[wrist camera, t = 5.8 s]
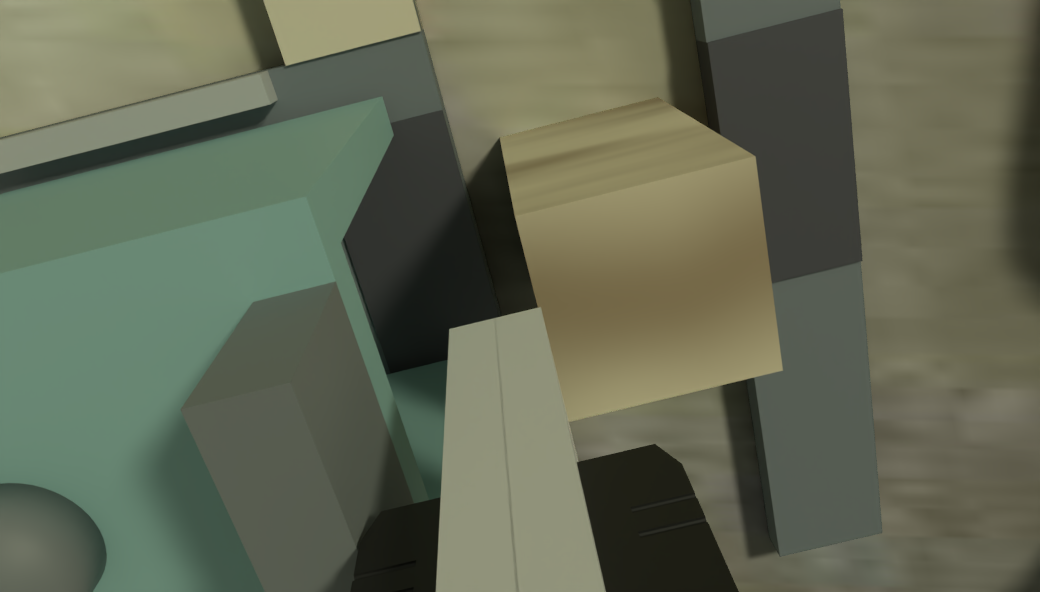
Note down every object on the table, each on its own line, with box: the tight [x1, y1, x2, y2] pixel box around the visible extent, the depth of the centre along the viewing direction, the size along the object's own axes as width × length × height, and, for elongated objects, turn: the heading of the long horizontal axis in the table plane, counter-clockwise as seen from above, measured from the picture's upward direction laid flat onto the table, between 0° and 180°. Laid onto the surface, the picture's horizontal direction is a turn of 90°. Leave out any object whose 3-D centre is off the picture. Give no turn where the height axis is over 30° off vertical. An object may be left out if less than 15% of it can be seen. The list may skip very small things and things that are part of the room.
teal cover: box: [0, 96, 448, 592], centre depth 16 cm, size 8×10×13 cm
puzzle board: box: [0, 0, 882, 557], centre depth 22 cm, size 27×26×2 cm
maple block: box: [500, 97, 783, 422], centre depth 19 cm, size 4×4×8 cm
